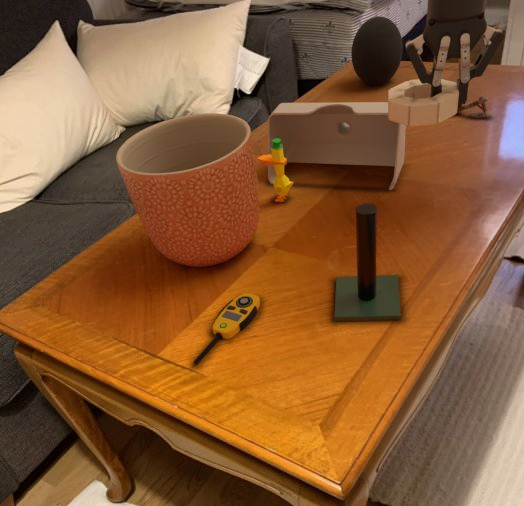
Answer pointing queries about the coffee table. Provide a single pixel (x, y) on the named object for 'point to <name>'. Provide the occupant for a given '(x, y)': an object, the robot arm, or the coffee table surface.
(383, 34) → the decorative egg
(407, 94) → the ring
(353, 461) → the coffee table surface
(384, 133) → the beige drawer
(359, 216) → the peg stand
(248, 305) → the yellow handheld probe meter
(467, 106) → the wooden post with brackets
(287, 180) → the toy figure
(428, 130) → the coffee table surface
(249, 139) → the planter
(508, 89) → the coffee table surface
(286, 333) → the coffee table surface
